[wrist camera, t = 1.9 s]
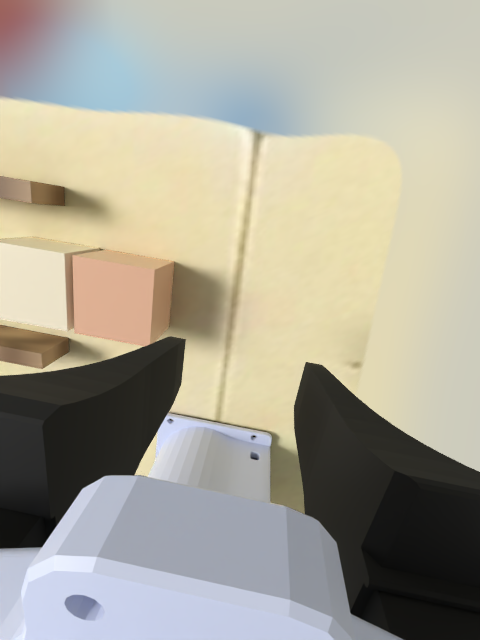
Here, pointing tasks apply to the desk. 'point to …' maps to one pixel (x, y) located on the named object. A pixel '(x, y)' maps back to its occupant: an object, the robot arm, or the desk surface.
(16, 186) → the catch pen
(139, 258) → the pink cube-like block
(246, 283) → the desk surface
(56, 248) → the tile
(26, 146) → the desk surface
